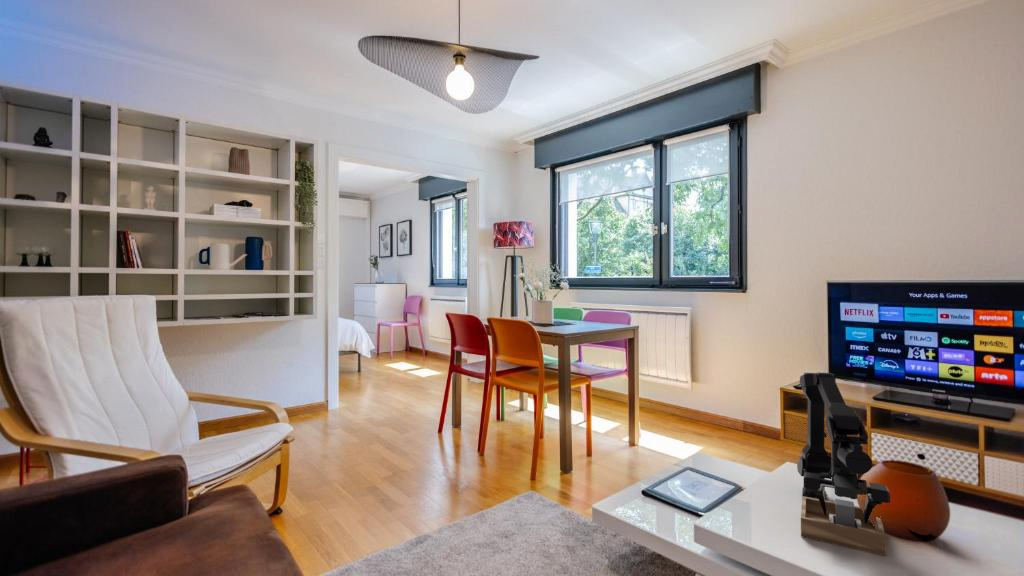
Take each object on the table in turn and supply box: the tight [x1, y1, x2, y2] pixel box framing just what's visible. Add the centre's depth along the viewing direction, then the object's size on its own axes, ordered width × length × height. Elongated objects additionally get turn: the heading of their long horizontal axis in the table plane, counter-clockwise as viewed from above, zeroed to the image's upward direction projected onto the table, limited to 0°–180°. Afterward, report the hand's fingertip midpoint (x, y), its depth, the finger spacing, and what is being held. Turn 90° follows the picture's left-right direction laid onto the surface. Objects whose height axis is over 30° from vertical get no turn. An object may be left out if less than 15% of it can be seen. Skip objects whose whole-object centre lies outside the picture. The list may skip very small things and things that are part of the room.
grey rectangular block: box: [834, 498, 855, 528], centre depth 128 cm, size 4×4×8 cm
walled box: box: [800, 495, 887, 557], centre depth 130 cm, size 16×18×5 cm
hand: (845, 518), depth 128 cm, fingers open, 8 cm apart
